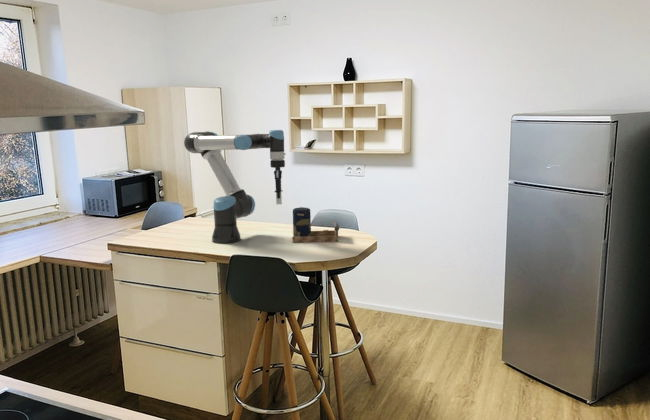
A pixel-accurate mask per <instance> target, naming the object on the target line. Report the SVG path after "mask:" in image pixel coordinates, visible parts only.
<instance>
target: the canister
mask: <svg viewBox="0 0 650 420" xmlns="http://www.w3.org/2000/svg"><path fill="white" fill-rule="evenodd" d="M311 217H312V216H311V208H310V207H302V206H300V207H295V208H293V209H292V233H293V234H292V235H293V236H292V237H311V231H312V223H311Z"/></svg>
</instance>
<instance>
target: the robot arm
mask: <svg viewBox="0 0 650 420" xmlns="http://www.w3.org/2000/svg"><path fill="white" fill-rule="evenodd" d="M183 143H184V144H183V145H184V148H185V149H186V150H187V151H188V152H190V153H191V154H200V155H201V157H202V159H203V160H206V161H207V162H208V164H209V166H210V168H211V169H212V171H213V174H214V176H215V177H216V179H217V181H218V182H219V184H220V187H221V188H222V190H223V192H224V193H225V196H219V197H217V198H214V200H213V207H212V208H213V217H214V228H213V232H212V235H211V236H212V237H211V241H212V242H213V243H214V244H228V243H229V244H233V243H236V242H239V241H241V234H240V231H239V228H238V224H237V222H238V221H237V219H240V218H245V217H248V216H250V215H252V214H253V213H254V212H255V208H256V202H255V199H254V196H252V195H250V194H247V193H246V191H245V189H244V188H243V189H242V188H241V187H240V186H239V184H238V182H237V180H236V178H235V176H234V175H233V172H232V171H231V169H230V167H229V166H228V164H227V162H226V160H225V158H224V156H223V155H222V151H224V150H226V151H228V150H236V151H237V150H240V151H247V150H256V149H269V159H270V168H272V169H273V168H274V171H273V175H274V181H275V190H274V193H275V200H276V201H275V202H276V203H275V204H276V205H282V203H283V202H282V198H283V197H282V192H283V190H282V178H283V177H282V174H283V170H281V168H285V166H286V160H285V156H286V155H287V154H286V152H285V134H284V131H283V130H282V129H271V130H269V132H268V133H252V134H231V135H230V134H224V135H222V134H221V135H220V134H217V133H216V132H214V131H199V132H198V131H194V132H189V134H187V135H186V136H185V138H184V140H183Z"/></svg>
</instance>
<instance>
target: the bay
mask: <svg viewBox="0 0 650 420" xmlns="http://www.w3.org/2000/svg"><path fill="white" fill-rule="evenodd" d="M332 223H333V227H334V228H333V229H334V230H328V229H323V230H311V237H293V236H292V238H291V239H292V244H296V243H297V244H299V243H300V244H305V243H307V244H308V243H314V244H315V243H339V230H340V227H339V223H338V221H337V220H334V221H333V222H332Z"/></svg>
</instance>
